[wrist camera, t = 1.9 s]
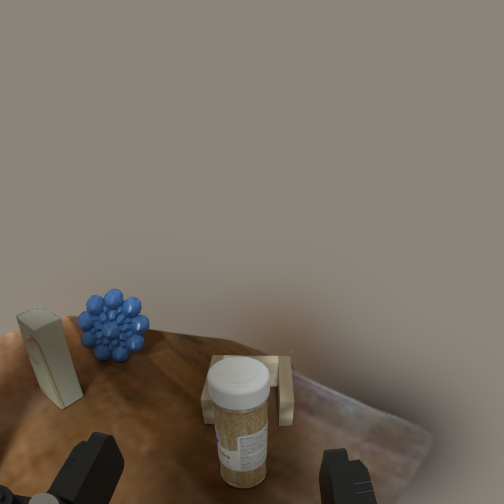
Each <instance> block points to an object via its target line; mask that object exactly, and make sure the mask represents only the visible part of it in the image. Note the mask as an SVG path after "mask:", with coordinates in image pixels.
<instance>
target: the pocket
mask: <svg viewBox="0 0 504 504" xmlns="http://www.w3.org/2000/svg"><path fill="white" fill-rule="evenodd" d="M230 357H249V358H253V359H256V360H258V361H260V362H262V363H263V364H264V365H265V366H266V367H267V368H268V370H269V373H270V386H278V414H279V426H292V421H293V411H294V393H293V383H292V373H291V364H290V356H231V355H213V356H212V359H211V363H210V367H209V369H210V368H211V367H212V366H213V365H214V364H215V363H217V362H218V361H220V360H223V359H226V358H230ZM208 371H209V370H208ZM207 375H208V374H207ZM201 406H202V412H203V418H204V424H215V418H214V410H213V402H212V399H211V397H210V395H209V391H208V380H207V377H206V381H205V385H204V388H203V392H202V396H201Z"/></svg>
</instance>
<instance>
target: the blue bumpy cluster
mask: <svg viewBox="0 0 504 504" xmlns="http://www.w3.org/2000/svg"><path fill="white" fill-rule="evenodd" d="M86 305H87V311H85V312H83V313H81V314H80V315H79V317H78V319H77V321H78V326H79V328H80V329H81V330H83V331H85V332H83V333H82V335H81V343H82V345H83V346H84V347H86V348H88V349H91V348H93V347H95V348H94V355H95V357H96V358H97V359H99V360H101V361H103V360H107V359H108V358H109V357H110V356H111V355H112V358H113V359H114V360H115V361H117V362H123V361H125V360H126V359H128V357H129V351H131V352H138V351H140V350H141V349H142V348H143V346H144V338H143V337H142V334H144V333H145V332H147V331H148V329H149V319H148V318H147V317H146V316H144V315H138V314H139V313H140V311H141V302H140V301H139V300H138V299H137V298H136V297H129V298H127V299H126V300H125V301H123V294H122V293H121V292H120V291H119V290H118V289H111V290H110V291H108V292H107V293H106V295H105V297H104V299H103V298H102V297H101V296H99V295H93V296H92V297H90V298H89V299H88V301H87V304H86Z"/></svg>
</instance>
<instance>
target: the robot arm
mask: <svg viewBox="0 0 504 504" xmlns="http://www.w3.org/2000/svg"><path fill="white" fill-rule="evenodd" d="M68 457H69V458H67V460H66V461H65V463H64V466H62V468H61V470H60V471H59V473H58V475H57V476H56V478H55V480H54V482H53V483H52V485H51V487H50V488H49V490H48V491H47V492H46V493H39V494H36V495H34V496H33V497H25V496H19V495H14V494H13V493H12V492H11V491H10V490H9V489H8V488H7V487H5V486H3V485H0V504H109V502H110V500H111V498H112V495H113V493H114V491H115V488H116V486H117V484H118V481H119V479H120V477H121V474H122V472H123V469H124V459H123V456H122V454H121V452H120V450H119V448H118V446H117V444H116V441H115V439H114V437H113V436H111V435H107V434H103V433H98V432H94V433H92V434H91V436H90V438H89V439H88V441H87V442H86V441H82V442H81V443H79V444H78V445H77V446H75V447H74V448H73V450H72V452H71V453H70V455H69V456H68ZM319 485H320V493H321V501H322V504H377V502H376V498H375V494H374V492H373V487H372V483H371V480H370V476H369V472H368V469H367V468H366V467H365V465H364V464H363V463H362V462H361V461H360V460H353V461H349V459H348V455H347V451H346V449H345V448H340V449H331V450H325V451H324V454H323V459H322V464H321V468H320V473H319Z"/></svg>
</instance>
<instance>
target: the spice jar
mask: <svg viewBox="0 0 504 504" xmlns="http://www.w3.org/2000/svg"><path fill="white" fill-rule="evenodd" d="M207 380H208V391H209V395H210V397H211V399H212V402H213V410H214V418H215V431H216V438H217V447H218V455H219V459H220V464H221V468H220V473H221V477H222V478H223V480H224V481H225V482H226V483H228V484H229V485H231V486H234V487H236V488H251V487H254V486H256V485H258V484H259V483H261V482H262V481H263V480H264V479H265V476H266V472H267V469H266V456H267V431H268V417H267V397H268V396H269V393H270V373H269V370H268V368H267V367H266V366H265V365H264V364H263V363H262V362H260V361H258V360H256V359H253V358H249V357H230V358H226V359H223V360H220V361H218V362H217V363H215V364H214V365H213V366H212V367H211V368H210V369H209V371H208V375H207Z"/></svg>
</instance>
